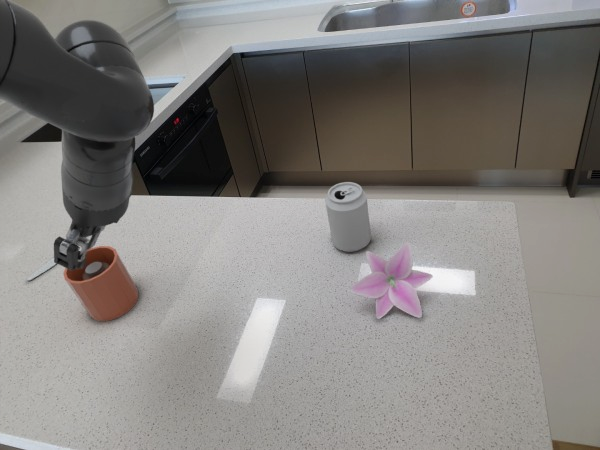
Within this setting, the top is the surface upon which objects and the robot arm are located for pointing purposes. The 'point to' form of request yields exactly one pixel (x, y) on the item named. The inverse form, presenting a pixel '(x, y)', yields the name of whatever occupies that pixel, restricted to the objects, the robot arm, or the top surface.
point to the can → (348, 216)
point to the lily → (392, 282)
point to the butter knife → (42, 269)
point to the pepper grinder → (94, 270)
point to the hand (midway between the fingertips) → (94, 240)
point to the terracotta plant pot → (104, 286)
